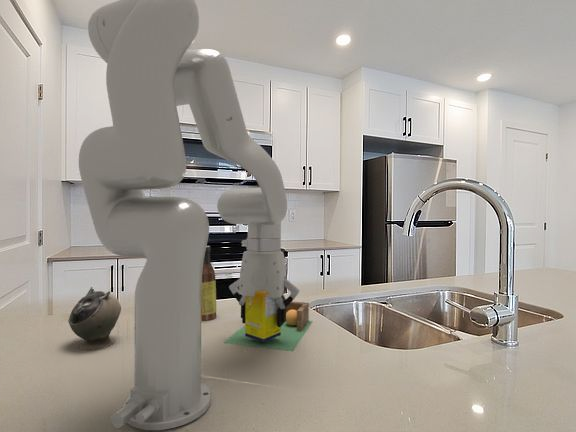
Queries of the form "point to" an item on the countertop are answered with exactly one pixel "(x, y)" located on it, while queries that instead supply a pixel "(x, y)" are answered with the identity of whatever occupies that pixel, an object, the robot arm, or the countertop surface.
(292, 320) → the ball
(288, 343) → the pitch
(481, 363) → the countertop surface
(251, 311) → the supplement box
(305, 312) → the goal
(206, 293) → the sauce bottle
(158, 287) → the robot arm
